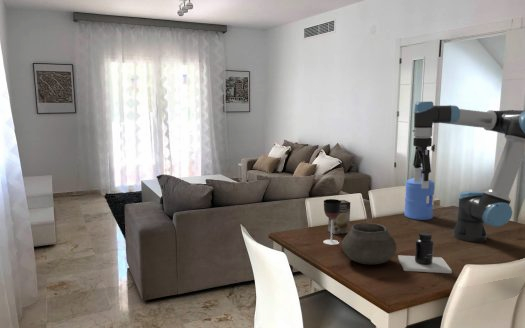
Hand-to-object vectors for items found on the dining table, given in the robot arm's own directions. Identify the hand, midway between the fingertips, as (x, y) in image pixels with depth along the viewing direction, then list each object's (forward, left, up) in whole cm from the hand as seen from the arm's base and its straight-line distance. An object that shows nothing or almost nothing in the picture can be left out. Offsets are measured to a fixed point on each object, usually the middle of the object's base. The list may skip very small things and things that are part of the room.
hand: (420, 185), depth 188 cm
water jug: (-13, -59, -30) cm, 68 cm away
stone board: (+1, +19, -30) cm, 35 cm away
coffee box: (+34, -22, -30) cm, 51 cm away
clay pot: (+23, +18, -30) cm, 42 cm away
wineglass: (+38, -5, -30) cm, 49 cm away
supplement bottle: (+1, +19, -29) cm, 34 cm away
